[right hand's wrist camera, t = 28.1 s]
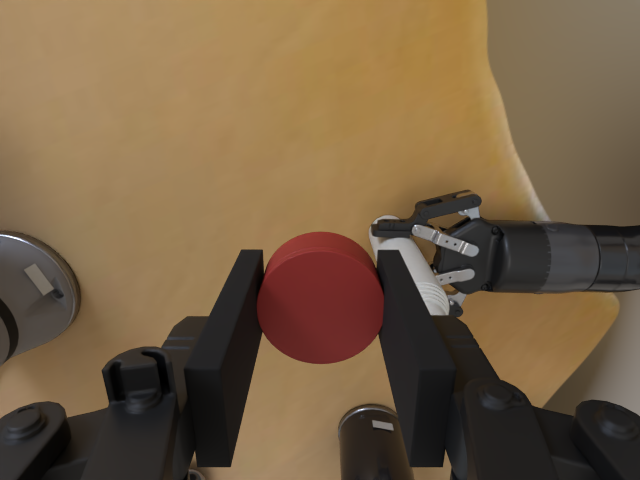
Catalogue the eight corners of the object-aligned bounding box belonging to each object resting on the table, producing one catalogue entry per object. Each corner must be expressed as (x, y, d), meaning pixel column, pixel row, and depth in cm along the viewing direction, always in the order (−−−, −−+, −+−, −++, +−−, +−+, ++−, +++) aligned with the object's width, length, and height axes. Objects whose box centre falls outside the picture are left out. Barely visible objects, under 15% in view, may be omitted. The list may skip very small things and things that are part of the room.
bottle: (401, 210, 47) (459, 302, 27) (409, 244, 49) (471, 354, 29) (364, 221, 48) (395, 318, 28) (374, 254, 49) (409, 370, 29)
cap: (253, 238, 14) (244, 259, 12) (373, 223, 14) (380, 242, 12) (274, 339, 16) (268, 370, 14) (382, 327, 15) (390, 357, 14)
